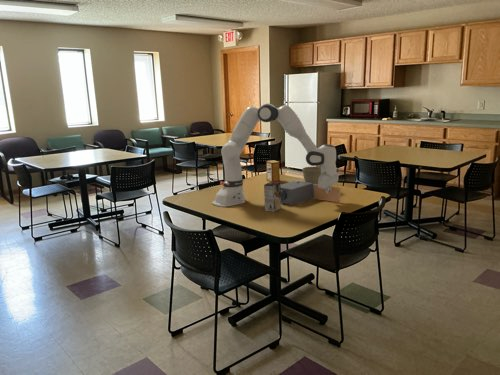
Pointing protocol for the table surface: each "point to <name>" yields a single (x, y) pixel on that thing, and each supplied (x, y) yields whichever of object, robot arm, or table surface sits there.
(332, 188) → the side door
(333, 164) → the robot arm
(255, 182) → the table surface
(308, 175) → the plant pot
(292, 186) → the camera housing
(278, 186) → the coffee box
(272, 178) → the baking soda box
